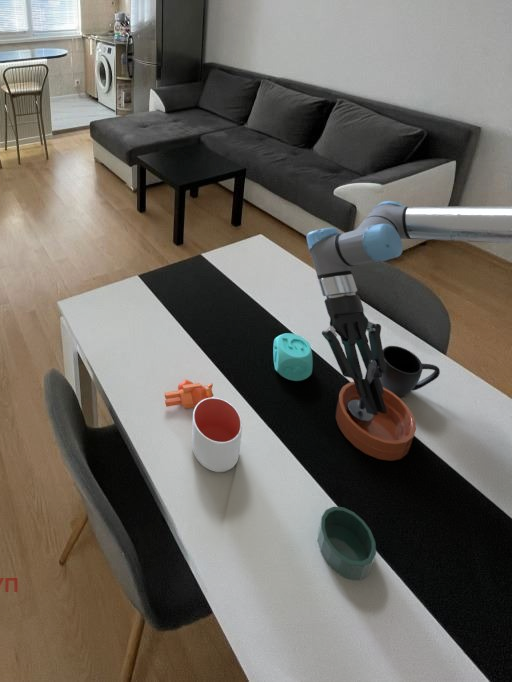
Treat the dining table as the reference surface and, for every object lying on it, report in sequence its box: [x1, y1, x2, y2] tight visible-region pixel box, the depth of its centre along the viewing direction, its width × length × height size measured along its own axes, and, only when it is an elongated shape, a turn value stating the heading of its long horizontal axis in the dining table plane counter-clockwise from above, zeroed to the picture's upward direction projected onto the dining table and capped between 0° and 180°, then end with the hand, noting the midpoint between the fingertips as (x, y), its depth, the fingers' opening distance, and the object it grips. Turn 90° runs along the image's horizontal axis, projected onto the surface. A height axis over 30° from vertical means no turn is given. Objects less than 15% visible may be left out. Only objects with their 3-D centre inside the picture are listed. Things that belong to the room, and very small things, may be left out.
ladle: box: [347, 359, 377, 427], centre depth 93 cm, size 5×5×17 cm
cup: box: [191, 397, 243, 473], centre depth 91 cm, size 10×10×10 cm
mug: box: [380, 345, 441, 399], centre depth 102 cm, size 8×12×10 cm
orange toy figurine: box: [164, 379, 214, 409], centre depth 103 cm, size 5×8×12 cm
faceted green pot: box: [317, 506, 377, 581], centre depth 75 cm, size 8×8×5 cm
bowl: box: [335, 381, 417, 462], centre depth 94 cm, size 14×14×6 cm
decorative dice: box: [272, 332, 314, 382], centre depth 109 cm, size 8×8×8 cm
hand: (377, 412), depth 90 cm, fingers closed on ladle
